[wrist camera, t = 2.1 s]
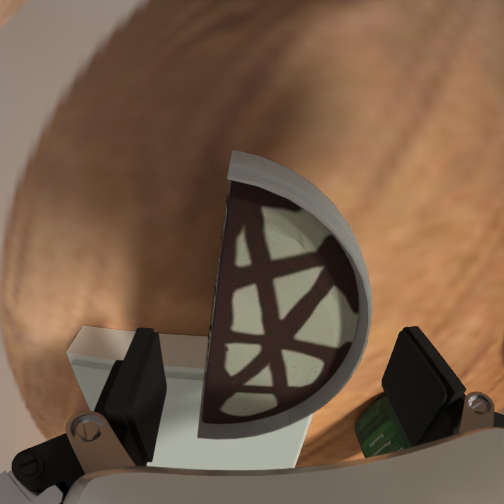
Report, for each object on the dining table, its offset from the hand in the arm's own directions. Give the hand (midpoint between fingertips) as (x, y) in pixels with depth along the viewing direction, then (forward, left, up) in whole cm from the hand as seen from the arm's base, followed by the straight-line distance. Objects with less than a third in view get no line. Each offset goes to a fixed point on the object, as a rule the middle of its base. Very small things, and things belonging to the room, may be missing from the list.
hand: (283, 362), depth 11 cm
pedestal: (+14, -5, -9) cm, 18 cm away
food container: (-1, 0, -10) cm, 10 cm away
